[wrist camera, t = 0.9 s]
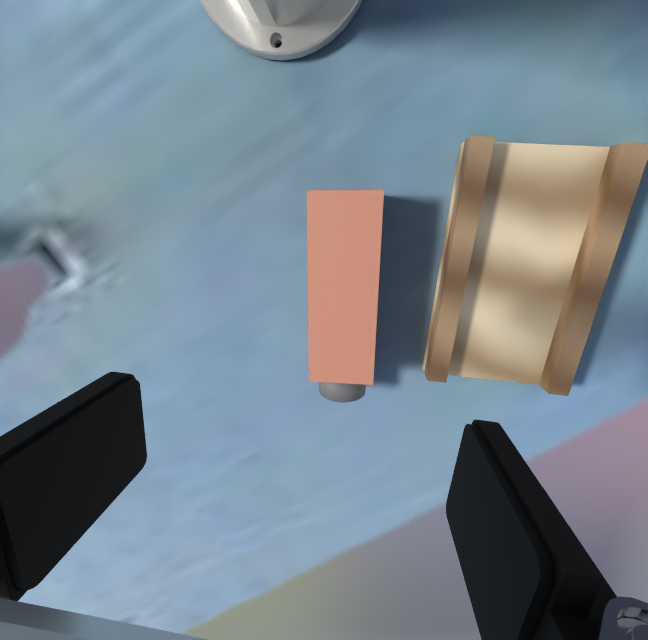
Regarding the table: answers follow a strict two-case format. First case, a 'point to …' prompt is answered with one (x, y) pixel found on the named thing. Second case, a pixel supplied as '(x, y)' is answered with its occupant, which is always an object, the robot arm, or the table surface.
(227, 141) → the table surface
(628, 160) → the cradle
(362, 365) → the salmon rectangular block
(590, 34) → the table surface
